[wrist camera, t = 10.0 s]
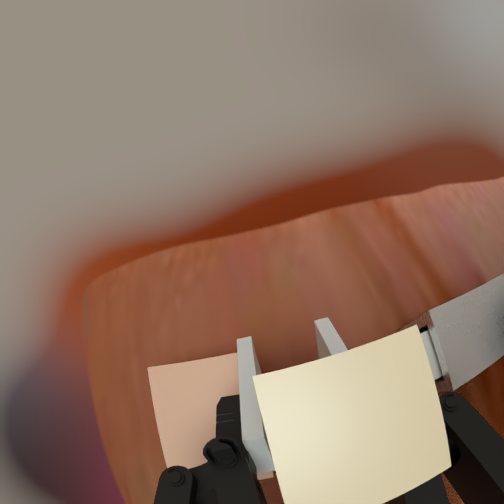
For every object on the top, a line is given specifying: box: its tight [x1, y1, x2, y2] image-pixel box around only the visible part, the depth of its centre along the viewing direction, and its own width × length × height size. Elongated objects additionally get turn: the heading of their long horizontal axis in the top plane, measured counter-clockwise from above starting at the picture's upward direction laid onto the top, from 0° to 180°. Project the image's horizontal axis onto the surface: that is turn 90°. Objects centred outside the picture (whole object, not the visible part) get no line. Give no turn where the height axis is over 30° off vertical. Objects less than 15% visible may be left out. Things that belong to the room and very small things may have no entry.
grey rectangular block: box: [395, 273, 504, 393], centre depth 18 cm, size 12×6×6 cm, turn 102°
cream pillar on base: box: [252, 325, 451, 504], centre depth 11 cm, size 20×4×17 cm, turn 103°
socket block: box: [148, 353, 274, 480], centre depth 16 cm, size 6×8×6 cm
